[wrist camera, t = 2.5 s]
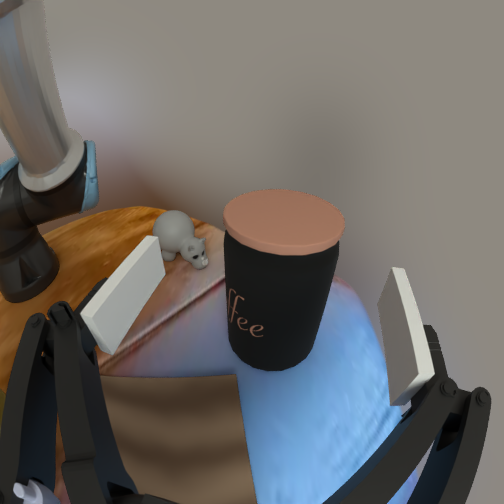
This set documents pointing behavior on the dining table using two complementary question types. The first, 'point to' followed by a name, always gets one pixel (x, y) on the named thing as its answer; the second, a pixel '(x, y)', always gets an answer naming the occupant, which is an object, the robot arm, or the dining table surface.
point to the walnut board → (182, 437)
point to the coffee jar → (278, 273)
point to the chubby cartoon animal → (179, 238)
